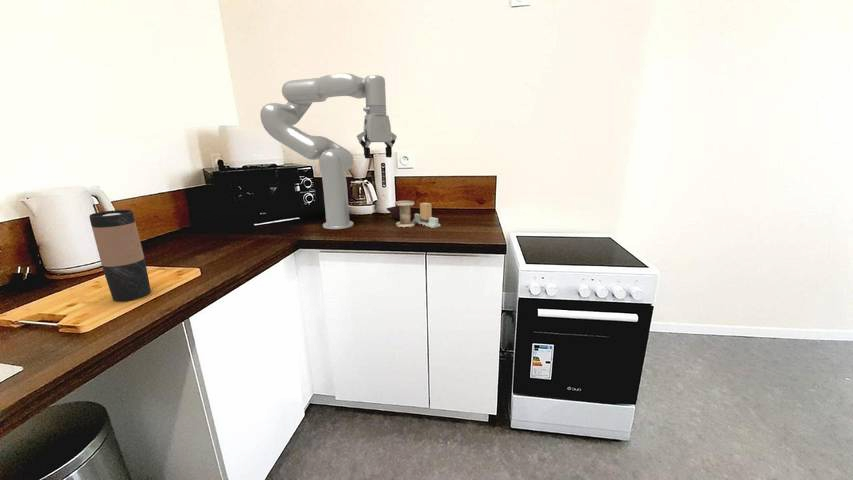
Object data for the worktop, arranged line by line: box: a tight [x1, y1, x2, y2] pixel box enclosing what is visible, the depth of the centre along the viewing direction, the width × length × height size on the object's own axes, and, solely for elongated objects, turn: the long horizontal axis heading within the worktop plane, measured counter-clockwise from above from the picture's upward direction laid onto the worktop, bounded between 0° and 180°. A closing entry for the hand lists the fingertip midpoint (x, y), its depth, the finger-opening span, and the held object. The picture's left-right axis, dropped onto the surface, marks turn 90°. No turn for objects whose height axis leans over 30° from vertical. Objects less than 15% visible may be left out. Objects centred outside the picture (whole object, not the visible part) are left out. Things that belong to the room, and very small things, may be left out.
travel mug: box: [89, 209, 152, 303], centre depth 82 cm, size 8×8×20 cm
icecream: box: [386, 205, 412, 220], centre depth 163 cm, size 7×7×15 cm
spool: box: [394, 200, 416, 229], centre depth 149 cm, size 8×8×10 cm
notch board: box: [411, 213, 441, 229], centre depth 152 cm, size 14×4×4 cm, turn 40°
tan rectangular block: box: [419, 202, 433, 223], centre depth 151 cm, size 4×3×8 cm
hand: (378, 157), depth 139 cm, fingers open, 9 cm apart
